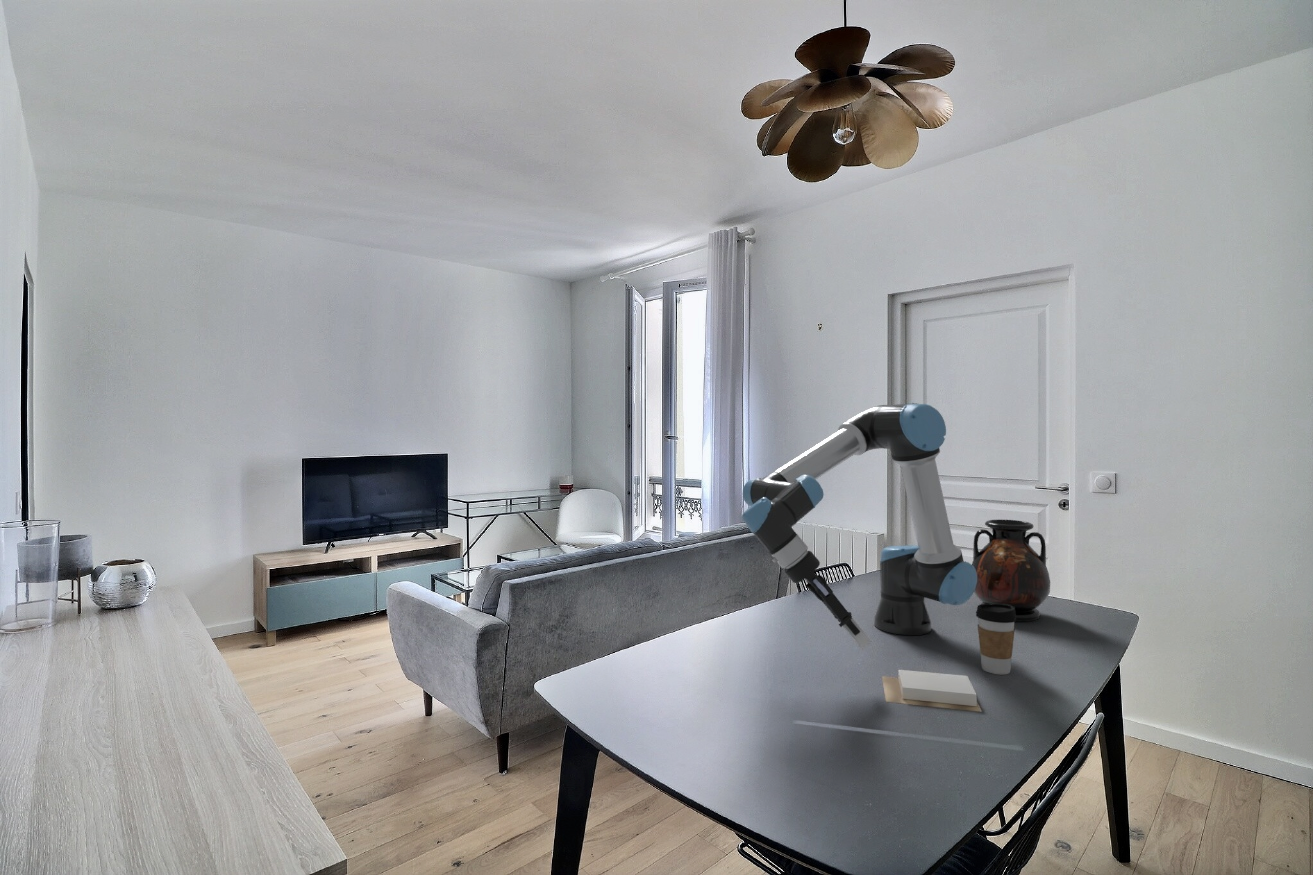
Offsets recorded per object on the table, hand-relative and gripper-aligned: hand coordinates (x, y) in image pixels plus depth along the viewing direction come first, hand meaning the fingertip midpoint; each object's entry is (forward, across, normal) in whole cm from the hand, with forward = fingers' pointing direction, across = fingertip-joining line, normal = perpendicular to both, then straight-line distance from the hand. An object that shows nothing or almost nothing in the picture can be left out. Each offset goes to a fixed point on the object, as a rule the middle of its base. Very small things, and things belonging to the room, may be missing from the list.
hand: (866, 644), depth 142 cm
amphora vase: (+38, -57, +42) cm, 80 cm away
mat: (+15, +3, +3) cm, 16 cm away
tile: (+10, +2, 0) cm, 10 cm away
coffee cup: (+27, -12, +20) cm, 36 cm away
